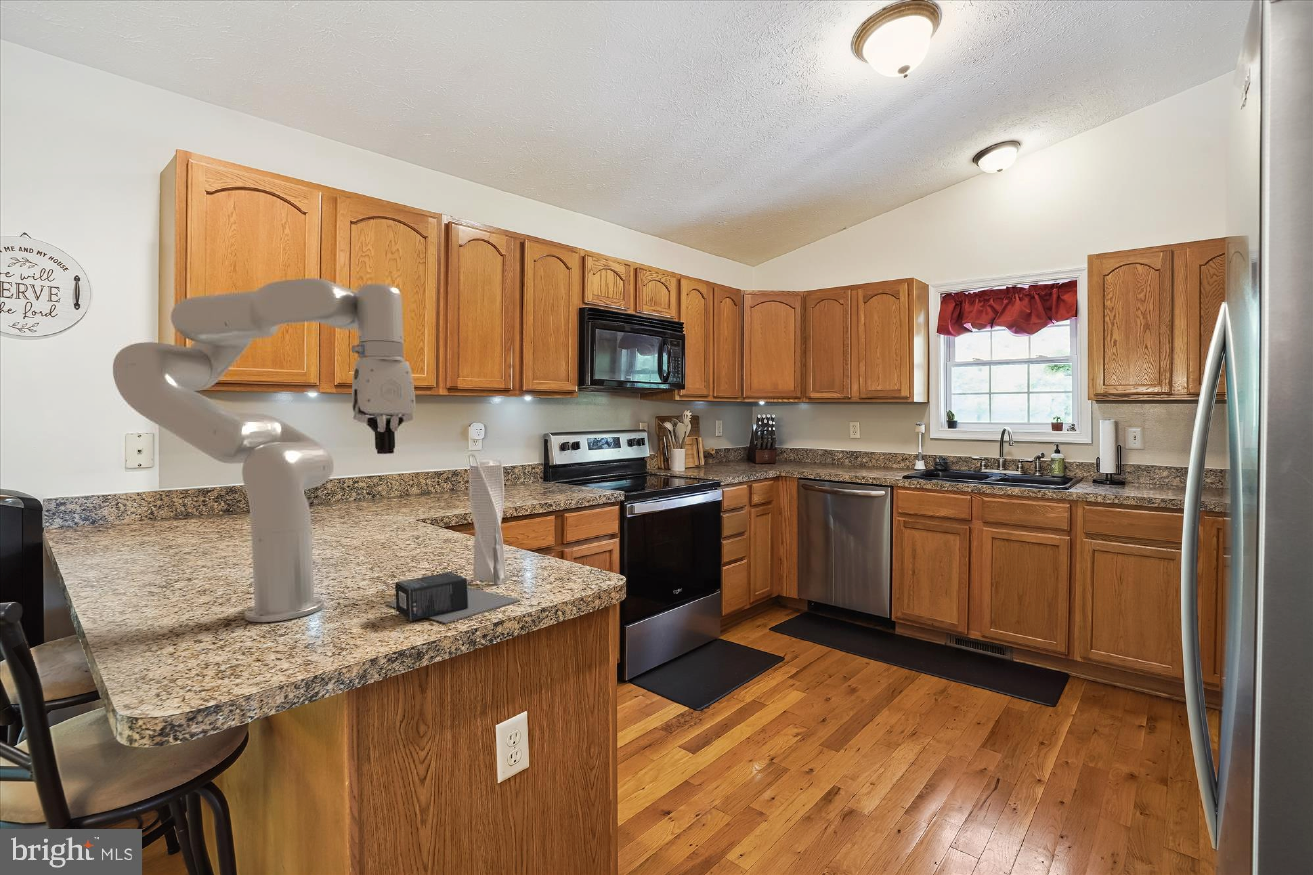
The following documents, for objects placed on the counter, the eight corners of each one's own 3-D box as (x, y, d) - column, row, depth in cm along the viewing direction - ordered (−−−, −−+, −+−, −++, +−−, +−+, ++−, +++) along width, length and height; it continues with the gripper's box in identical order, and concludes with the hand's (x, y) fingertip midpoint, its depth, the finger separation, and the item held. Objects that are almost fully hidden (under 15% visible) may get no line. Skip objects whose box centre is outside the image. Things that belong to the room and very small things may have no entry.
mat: (385, 605, 117) (385, 603, 117) (459, 586, 129) (459, 585, 129) (445, 624, 104) (445, 622, 104) (520, 601, 117) (520, 599, 117)
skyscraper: (462, 585, 131) (458, 455, 130) (479, 576, 139) (475, 453, 138) (500, 586, 129) (495, 454, 129) (515, 576, 137) (510, 452, 137)
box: (409, 622, 105) (469, 608, 112) (408, 589, 105) (467, 577, 112) (396, 612, 111) (453, 599, 118) (394, 581, 111) (451, 570, 118)
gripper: (350, 348, 104) (354, 456, 105) (430, 354, 116) (433, 451, 116) (330, 352, 109) (334, 455, 109) (408, 358, 121) (412, 451, 121)
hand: (385, 453), depth 113 cm, fingers closed
